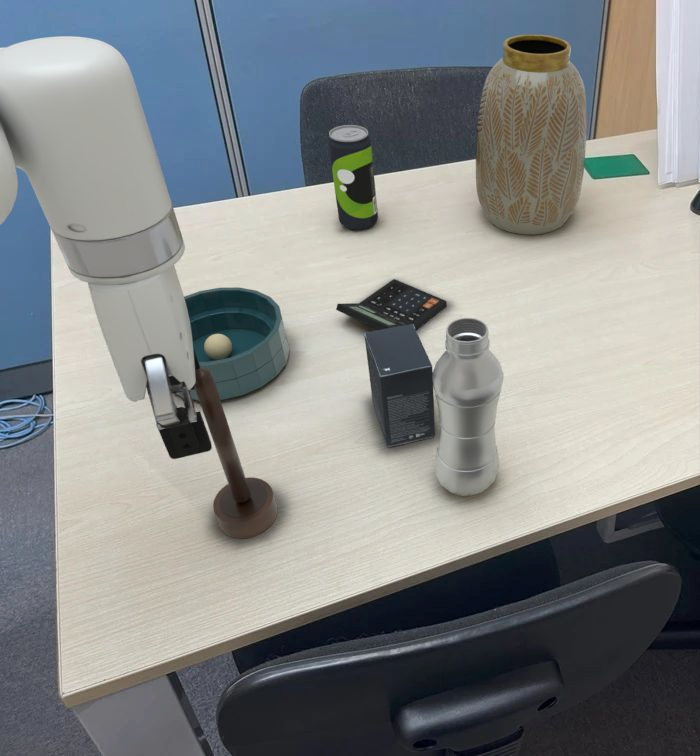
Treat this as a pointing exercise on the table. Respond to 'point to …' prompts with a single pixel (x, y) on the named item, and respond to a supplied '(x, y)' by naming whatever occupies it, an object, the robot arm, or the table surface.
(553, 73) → the vase
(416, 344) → the box
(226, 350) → the ball
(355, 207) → the beverage can
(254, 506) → the brown plunger
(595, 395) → the table surface
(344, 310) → the calculator
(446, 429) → the plastic bottle
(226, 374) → the bowl
